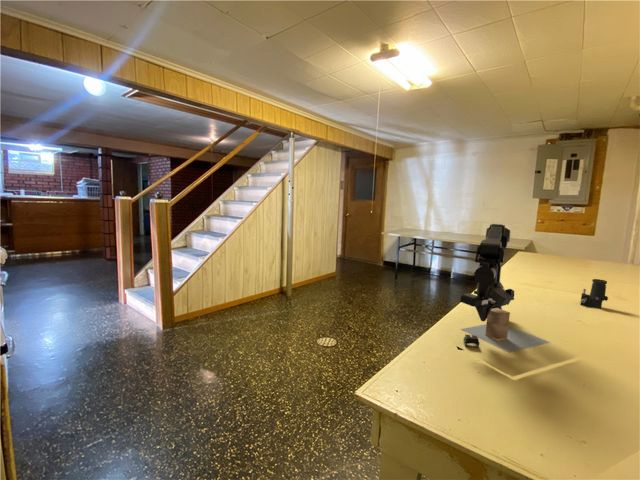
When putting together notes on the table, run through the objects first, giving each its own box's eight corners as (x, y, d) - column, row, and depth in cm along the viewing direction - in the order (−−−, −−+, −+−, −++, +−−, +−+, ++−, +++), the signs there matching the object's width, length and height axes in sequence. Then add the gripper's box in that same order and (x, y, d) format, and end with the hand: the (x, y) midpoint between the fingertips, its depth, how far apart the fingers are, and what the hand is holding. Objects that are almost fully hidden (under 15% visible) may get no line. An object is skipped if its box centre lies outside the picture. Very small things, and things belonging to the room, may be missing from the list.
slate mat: (460, 331, 121) (460, 329, 121) (498, 323, 130) (498, 321, 130) (509, 354, 103) (509, 352, 103) (549, 344, 112) (550, 342, 112)
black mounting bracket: (487, 347, 109) (488, 334, 109) (493, 357, 102) (495, 343, 102) (449, 342, 112) (450, 330, 112) (453, 352, 105) (454, 339, 104)
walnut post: (485, 335, 116) (487, 309, 115) (494, 333, 118) (497, 307, 117) (497, 340, 112) (500, 314, 110) (507, 338, 114) (509, 312, 112)
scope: (583, 276, 162) (610, 280, 155) (580, 302, 164) (606, 307, 157) (583, 279, 156) (610, 283, 149) (579, 306, 157) (606, 311, 151)
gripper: (489, 286, 98) (484, 333, 100) (527, 281, 105) (522, 326, 107) (460, 278, 108) (456, 321, 110) (497, 274, 115) (493, 314, 117)
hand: (482, 321), depth 111 cm, fingers closed
